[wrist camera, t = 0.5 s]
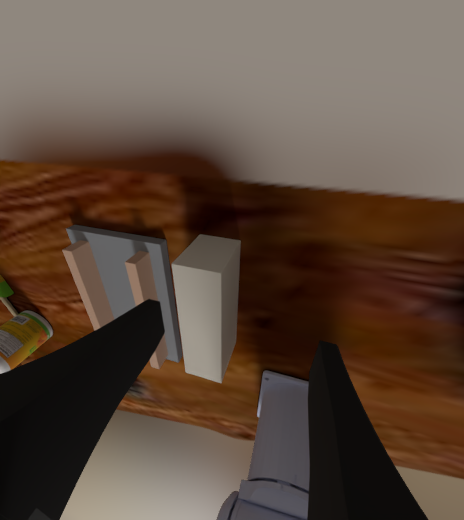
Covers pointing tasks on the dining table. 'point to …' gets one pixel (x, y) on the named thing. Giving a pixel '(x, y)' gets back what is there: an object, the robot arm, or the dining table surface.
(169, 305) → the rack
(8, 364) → the supplement bottle
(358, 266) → the dining table surface
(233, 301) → the beige rectangular block
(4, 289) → the popsicle
